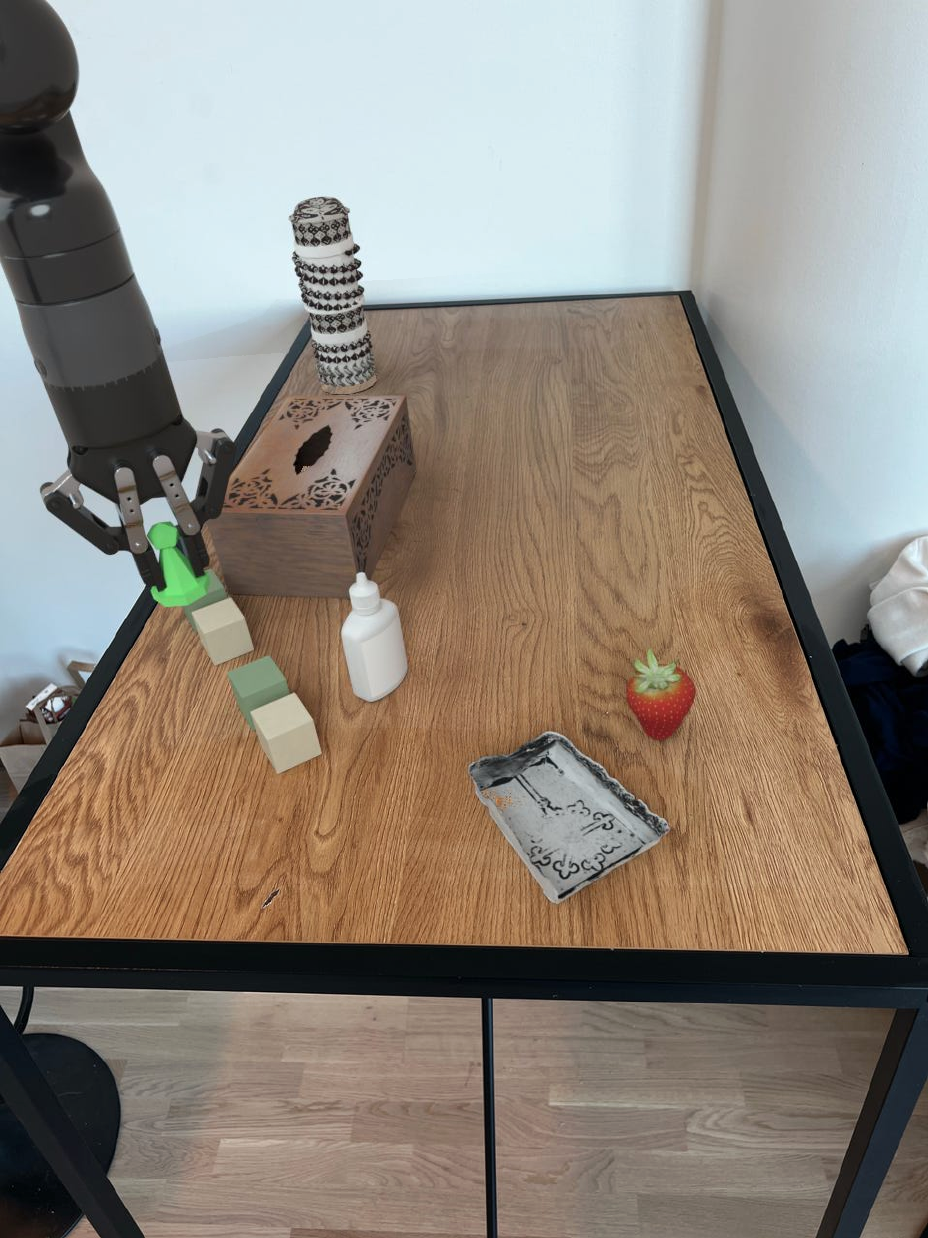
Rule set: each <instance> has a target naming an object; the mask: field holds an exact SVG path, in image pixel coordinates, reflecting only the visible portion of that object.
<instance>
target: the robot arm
mask: <svg viewBox="0 0 928 1238" xmlns="http://www.w3.org/2000/svg"><path fill="white" fill-rule="evenodd" d="M80 72H81V71H80V63H79V56H78V53H77V49H76V45H75V43H74V40H73V38H72V36H71V33H70V31H69V30H68V27H67V25H66V24H65V22H64V20H63V19H62V18H61V16H60V15H59V13H58V12H57V11H56V10H55V8H53V5H51V4H50V3H49V2H48V1H47V0H0V265H1V268H2V270H3V273H4V276H5V279H6V281H7V283H8V286H9V288H10V291H11V294H12V296H13V299H14V301H15V305H16V308H17V311H18V315H19V321H20V324H21V328H22V332H23V335H24V338H25V341H26V343H27V346H28V349H29V351H30V354H31V357H32V359H33V365H34V367H35V369H36V371H37V373H38V374H39V376H40V379H41V381H42V383H43V386H44V389H45V392H46V394H47V397H48V398H49V399H48V400H49V401H50V404H51V406H52V409H53V411H54V414H55V416H56V419H57V421H58V424H59V427H60V429H61V431H62V434H63V436H64V440H65V441H66V445H67V449H68V450H67V457H66V466H67V468H68V469H67V470H66V471H64V472H63V473H62V474H61V475H60V476H59V477H58V478H57V479H56V480H55V481H54V482H52V481H47V482H45V483H42V484H41V485H40V487H39V493H40V496H41V499H42V501H43V504H44V506H45V508H46V510H47V512H49V513H50V514H52V515H53V517H55V518H57V519H58V520H59V521H61V522H62V523H63V524H65V525H66V526H67V527H68V528H70V530H73V532H75V533H76V534H78V535H79V536H80V537H82V538H83V539H85V540H86V541H87V542H89V543H90V544H91V545H92V546H93V547H95V548H96V549H98V550H99V551H101V552H102V553H103V554H104V555H106V556H114V555H116V554H117V553H119V552H129V553H130V554H131V555H132V558H133V561H134V563H135V566H136V569H137V572H138V575H139V576H140V578H141V581H142V582H143V584H144V585H145V586H146V587H147V588H149V589H150V588H151V589H152V587H153V586H155V587H156V589H157V591H158V592H161V591H164V590H165V589H166V588H167V585H166V582H165V580H164V577H163V574H162V571H161V569H160V566H159V563H158V562H159V559H158V558H157V555H156V553H155V550H154V548H153V545H152V543H151V542H150V540H149V539H148V537H147V533H146V530H145V526H144V525H145V524H144V522H145V521H144V516H143V513H142V507H141V506H142V505H144V504H146V503H147V502H149V501H151V500H153V499H161V498H165V500H166V502H167V504H168V506H169V508H170V510H171V512H172V515H173V517H174V518H175V520H176V525H174V526H175V527H176V528H177V530H178V532H179V534H180V537H179V539H178V540H179V541H180V545H181V548H182V551H183V555H184V556H185V557H186V558H187V559H188V560H189V562H190V564H191V567H192V569H193V572H194V574H195V576H196V578H199V577H202V576H204V575H205V572H204V571H205V569H206V568H208V567H210V562H211V561H210V560H211V559H210V556H209V553H208V549H207V547H206V543H205V540H204V536H203V534H202V528H203V525H204V524H205V523H207V522H206V521H208V520H209V519H216V518H218V517H219V516H220V515H221V512H222V508H223V503H224V499H225V495H226V491H227V487H228V482H229V478H230V475H231V473H232V470H233V466H234V460H235V456H236V452H237V445H236V444H235V442H234V441H233V440H232V439H231V437H230V436H229V435H228V434H227V433H226V431H225V430H224V429H222V428H217V427H216V428H214V429H212V430H211V431H205V430H204V431H203V430H197V429H195V428H194V427H193V426H192V424H191V423H190V422H189V421H188V419H186V418H185V417H184V414H183V412H182V409H181V408H182V407H181V405H180V402H179V398H178V395H177V393H176V389H175V385H174V382H173V380H172V376H171V373H170V369H169V367H168V366H169V365H168V363H167V360H166V356H165V354H164V350H163V346H162V338H161V334H160V331H159V328H158V327H157V325H156V324H155V320H154V317H153V314H152V311H151V308H150V305H149V303H148V301H147V299H146V296H145V294H144V293H143V290H142V288H141V286H140V283H139V281H138V279H137V276H136V273H135V270H134V267H133V263H132V260H131V257H130V254H129V250H128V247H127V244H126V240H125V238H124V233H123V231H122V228H121V226H120V225H121V224H120V222H119V219H118V216H117V214H116V210H115V208H114V205H113V203H112V200H111V198H110V196H109V193H108V191H107V189H106V188H105V186H104V184H103V183H102V182H101V180H100V179H99V177H98V176H97V175H96V173H95V172H94V171H93V169H92V167H91V166H90V163H89V162H88V160H87V158H86V155H85V153H84V149H83V146H82V143H81V140H80V137H79V133H78V130H77V127H76V124H75V122H74V119H73V116H72V115H73V114H72V112H71V108H72V106H73V104H74V102H75V99H76V97H77V94H78V90H79V84H80ZM196 448H197V455H198V457H199V458H200V460H201V461H202V464H201V465H202V466H201V470H200V473H199V474H200V475H199V479H198V484H197V488H196V491H195V497H194V499H193V500H191V501H190V500H189V497H188V495H187V493H186V491H185V489H184V487H183V485H182V483H183V482H184V478H185V476H186V473H187V471H188V467H189V465H190V462H191V459H192V458H193V455H194V452H195V449H196ZM81 485H83V486H85V488H88V489H89V490H91V491H93V492H95V493H97V494H98V495H99V496H101V497H103V498H104V499H106V500H108V501H109V502H112V503H113V504H114V507H115V510H116V513H117V516H118V517H117V518H118V520H119V524H120V526H119V525H118V526H110V525H109V524H108V523H106V521H104V520H103V519H101V518H100V517H99V516H98V515H96V514H95V513H93V512H92V511H91V510H90V509H89V508H87V507H86V506H85V505H84V503H85V499H84V496H83V495H82V492H81V491H80V486H81Z"/></svg>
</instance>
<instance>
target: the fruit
mask: <svg viewBox="0 0 928 1238" xmlns="http://www.w3.org/2000/svg"><path fill="white" fill-rule="evenodd" d="M646 658H647V664H648V666H646V665H645V664H644V663H643V662H642V661H640V660H639V658H638V657H636V658H635V660H634V663H633V667H634V668H635V670H636V671H638V672H637V673H635V674H633V673H632V672H629V674H630V675H631V676H632V677H631V678H630V679H629V680H628V683H627V685H626V690H625V695H626V698H625V699H626V702H627V704H628V707H629V710H631V711H632V713H633V714H634V716H636V717H637V720H638V721H639V724H640V725H641V728H642V729H643V731H644V733H645V734H646V736H647V737H649V738H651V739H652V740H656V741H660V740H661V741H663V740H666V739H668V738H670V737H671V736H672V735H673V734H674V733H675V732H676V731H677V730H678V729H679V727H680V726H681V724H682V722H683V720H684V719H685V717H686V716H687V714H688V713H689V711H690V710H691V708H692V706H693V704H694V702H695V699H696V694H697V693H696V689H697V688H696V686H695V683H694V681H693V680H692V678H691V677H690V675H688V674H687V673H686V672H685V671H684V670H683V669H681V668H679V667H678V666H677V665H676V663H677V661H678V660H679V656H677V658H676V660H675V661H673V662H672V663H670V664H666V663H659V664H658V660H657V657H656V656H655V655H654V652H653V650H652V648H651V647H649V649H648V650H647V653H646Z"/></svg>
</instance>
